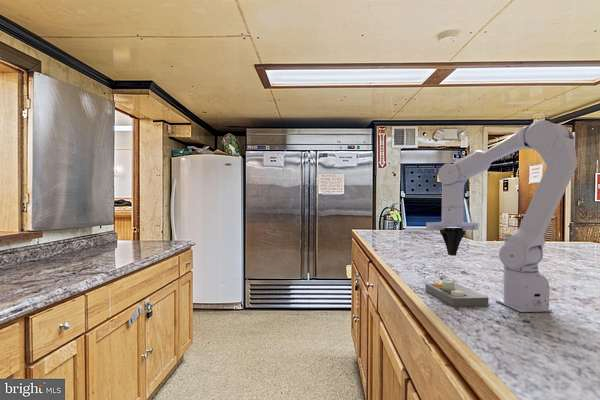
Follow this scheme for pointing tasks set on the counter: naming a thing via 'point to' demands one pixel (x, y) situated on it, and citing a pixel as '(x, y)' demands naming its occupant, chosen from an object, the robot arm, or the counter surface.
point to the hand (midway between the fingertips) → (452, 255)
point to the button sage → (448, 286)
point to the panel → (457, 301)
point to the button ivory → (457, 293)
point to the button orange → (438, 284)
